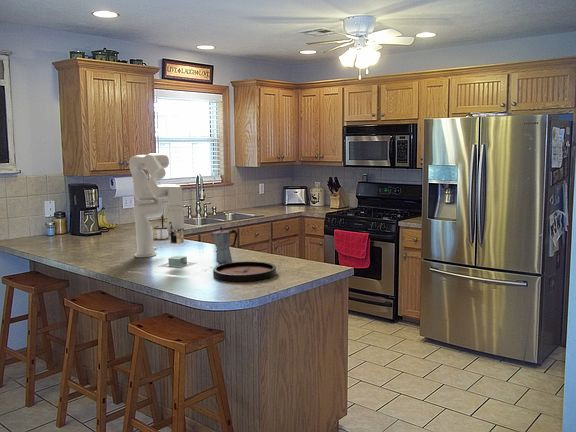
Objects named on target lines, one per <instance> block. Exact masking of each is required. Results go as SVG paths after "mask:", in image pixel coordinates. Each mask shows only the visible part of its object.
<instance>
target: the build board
mask: <svg viewBox="0 0 576 432" xmlns="http://www.w3.org/2000/svg"><path fill="white" fill-rule="evenodd" d="M196 264H198V262H191V261H187V264H185V265H182V266H169V262H167V263H164V264H161V265H158V266H157V267H160V268H170V269H171V268H172V269H185V268H188V267H190V266H193V265H196Z"/></svg>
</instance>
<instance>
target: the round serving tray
mask: <svg viewBox="0 0 576 432" xmlns="http://www.w3.org/2000/svg"><path fill="white" fill-rule="evenodd" d="M212 275H213V276H212V277H213V279H215V280H217V281H219V282H225V283H238V284H239V283H241V284H243V283H256V282H262V281H268V280H271V279H273V278H275V277H276V276H277V266H276V265H275V264H272V263H270V262H264V261H254V260H253V261H249V260H248V261H232V262H231V263H226V264H218V265H216V266H214V267H213V269H212Z"/></svg>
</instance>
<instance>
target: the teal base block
mask: <svg viewBox="0 0 576 432" xmlns="http://www.w3.org/2000/svg"><path fill="white" fill-rule="evenodd" d="M187 262H188V258H187V256H184V255H174V256H171V257H168V263H169V266H182V265H185V264H187Z"/></svg>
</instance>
